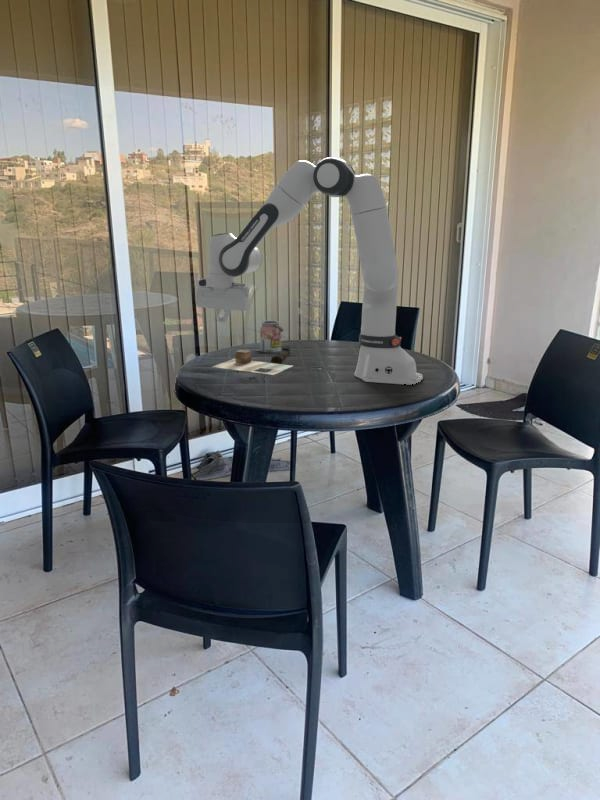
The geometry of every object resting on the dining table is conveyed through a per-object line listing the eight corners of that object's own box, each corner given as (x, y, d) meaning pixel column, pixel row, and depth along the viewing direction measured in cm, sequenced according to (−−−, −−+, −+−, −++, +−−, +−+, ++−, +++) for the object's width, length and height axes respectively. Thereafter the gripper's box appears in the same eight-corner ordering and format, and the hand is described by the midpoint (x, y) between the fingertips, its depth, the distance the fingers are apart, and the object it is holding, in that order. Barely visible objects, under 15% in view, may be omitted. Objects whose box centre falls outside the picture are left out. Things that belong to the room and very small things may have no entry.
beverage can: (273, 349, 235) (273, 319, 232) (287, 352, 229) (287, 322, 226) (255, 351, 229) (255, 321, 226) (269, 355, 223) (269, 324, 220)
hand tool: (281, 367, 204) (281, 354, 203) (270, 366, 205) (270, 354, 204) (295, 357, 222) (295, 345, 220) (285, 356, 223) (285, 344, 221)
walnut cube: (251, 361, 204) (251, 350, 203) (245, 363, 201) (245, 352, 200) (241, 360, 206) (241, 349, 205) (235, 362, 202) (235, 351, 201)
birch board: (293, 369, 200) (293, 365, 199) (273, 379, 187) (273, 374, 186) (233, 362, 209) (233, 358, 209) (211, 371, 196) (211, 366, 196)
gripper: (252, 283, 198) (252, 323, 201) (202, 279, 206) (203, 318, 209) (243, 284, 192) (243, 325, 196) (192, 280, 200) (193, 320, 204)
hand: (222, 321), depth 203 cm, fingers closed
